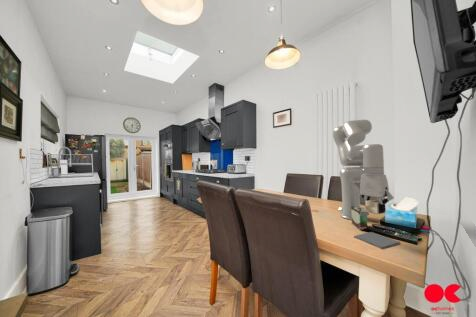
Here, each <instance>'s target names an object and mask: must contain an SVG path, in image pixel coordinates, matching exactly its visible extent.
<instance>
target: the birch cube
mask: <svg viewBox="0 0 476 317" xmlns="http://www.w3.org/2000/svg"><path fill="white" fill-rule="evenodd" d="M364 204H365V205H364V206H366V207H365V209H366V212H369V214H374V215H383V214H384V213H379V206H378V205H379V204H380V203H379V200H378V199H370V200H368V201H364Z"/></svg>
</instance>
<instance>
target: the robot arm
mask: <svg viewBox="0 0 476 317" xmlns="http://www.w3.org/2000/svg"><path fill="white" fill-rule="evenodd" d="M372 128H373V125H372V122H371V121H370V120H368V119H356V120H355V119H354V120H348V121H346V122H344V123H343V125H339V126H337V127H334V129H333V131H332V137H333V141H334V143H335V145H336V147H337V149H338V156H339V161H340V164H341V165H342V166H344V167H343V168H341V169H340V170H339V178H340V183H341V198H342V202H341V204H342V206H341V207H338V209H337V211H339V212H340V213H339V216H340V218H343V219H346V220H351V221H352V217H351V206H357V207H361V198H362V199H363V201H364V202H365V201H368V200H371V197H372V198H377V201H379V203H380V204H379V205H378V206H379V213H383V214H386V205H387V203H389V202H390V201H392V200H394V196H393V195H392V194H391V192H390V189H389V183H388V178H387V174H385V164H384V163H385V161H384V160H385V159H384V147H383V145H382V144H379V143H378V144H377V143H374V144H373V143H372V144H364V145H363V144H362V145H359V144H361V143H362V142H364V141H365V139H366V135H369V134H370V133H371V131H372ZM356 183H360V184H359V187H358V186H357V185H356ZM360 197H361V198H360ZM364 206H365V205H364ZM364 208H366V206H365V207H364Z"/></svg>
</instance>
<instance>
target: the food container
mask: <svg viewBox="0 0 476 317" xmlns="http://www.w3.org/2000/svg"><path fill="white" fill-rule="evenodd" d="M369 215H370V213H369V212H366V207H363V206H362V207H361V206H360V207H357V206H351V217H352V220H351V224H352V225H353V226H354V228H356V229H358V230H359V231H365V230H364V228H365V227H367V228H368V217H369Z"/></svg>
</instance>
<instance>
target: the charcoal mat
mask: <svg viewBox="0 0 476 317" xmlns="http://www.w3.org/2000/svg"><path fill="white" fill-rule="evenodd" d="M353 237H354V238H355V239H358V240H360V241H362V242H365V243H366V244H369V245H371V246H374V247H376V248H379V249H381V250H382V249H386V248H389V247H392V246H396V245H399V244H401V242H400V241H398V240H395V239H392V238H390V237H387V236H384V235H382V234H379V233H377V232H376V233H375V232H373V231H369V232H365V233H361V234H357V235H356V234H355V235H353Z"/></svg>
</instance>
